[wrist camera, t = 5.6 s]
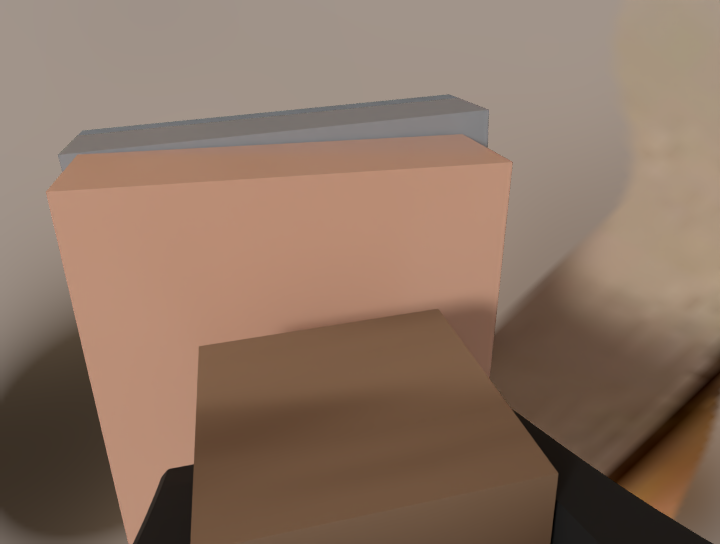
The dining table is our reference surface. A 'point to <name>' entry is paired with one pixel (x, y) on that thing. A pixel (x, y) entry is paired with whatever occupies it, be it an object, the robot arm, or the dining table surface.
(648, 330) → the dining table surface
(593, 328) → the dining table surface
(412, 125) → the slate slab
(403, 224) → the terracotta tile
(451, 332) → the walnut cube
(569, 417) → the dining table surface
